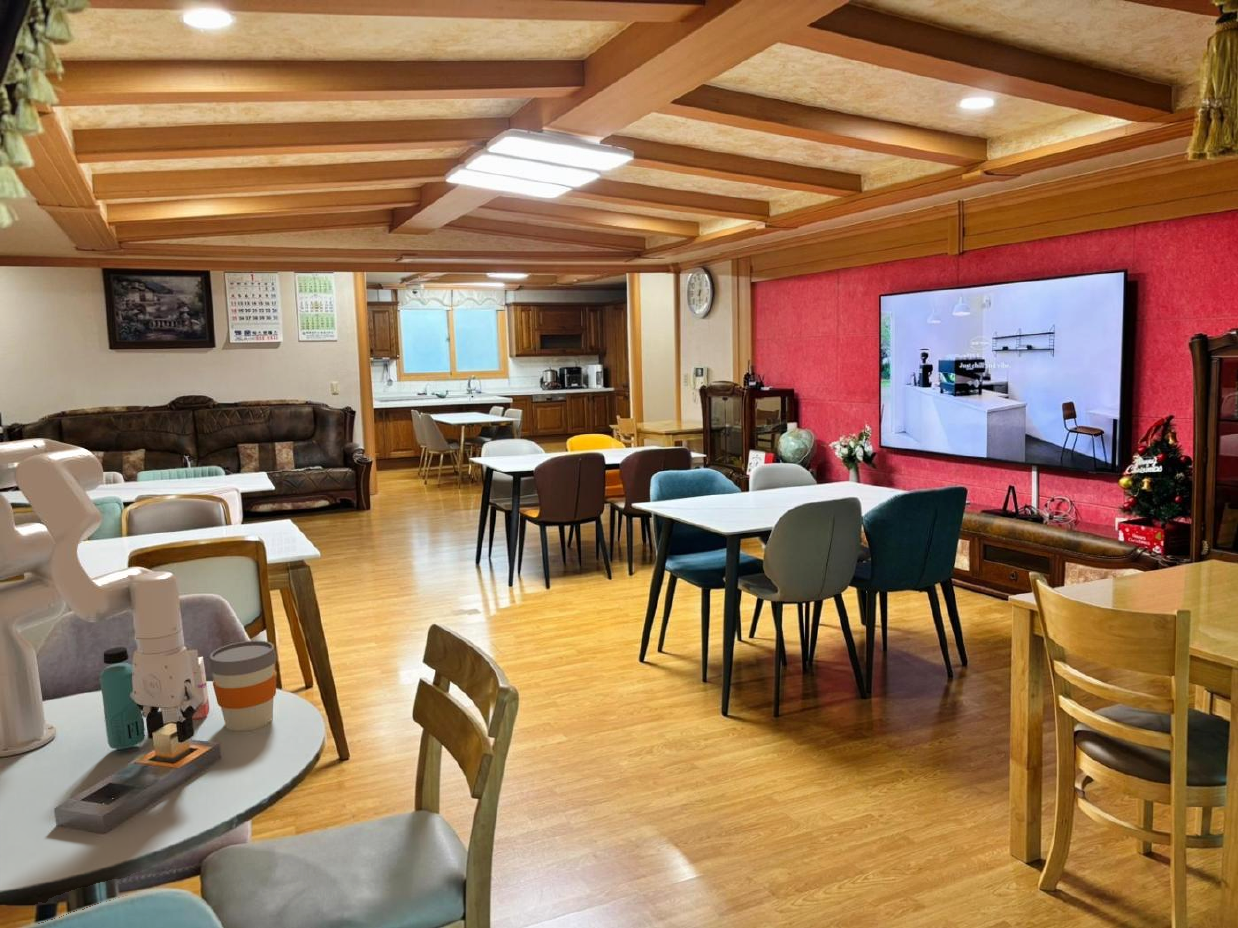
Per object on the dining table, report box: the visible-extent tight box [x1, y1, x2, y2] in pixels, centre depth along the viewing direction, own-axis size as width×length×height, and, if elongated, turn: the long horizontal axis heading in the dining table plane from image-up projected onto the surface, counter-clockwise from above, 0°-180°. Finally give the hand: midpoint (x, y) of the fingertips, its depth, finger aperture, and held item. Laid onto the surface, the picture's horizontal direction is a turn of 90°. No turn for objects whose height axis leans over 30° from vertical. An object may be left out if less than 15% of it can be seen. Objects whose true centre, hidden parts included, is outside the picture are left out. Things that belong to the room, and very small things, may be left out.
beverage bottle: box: [99, 646, 146, 750], centre depth 171 cm, size 6×7×20 cm
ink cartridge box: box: [159, 649, 211, 724], centre depth 185 cm, size 9×5×15 cm, turn 106°
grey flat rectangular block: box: [53, 738, 222, 835], centre depth 156 cm, size 10×26×3 cm, turn 163°
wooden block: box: [152, 722, 190, 764], centre depth 162 cm, size 4×4×8 cm
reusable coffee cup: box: [209, 640, 278, 732], centre depth 182 cm, size 13×13×15 cm
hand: (171, 736), depth 162 cm, fingers open, 6 cm apart
